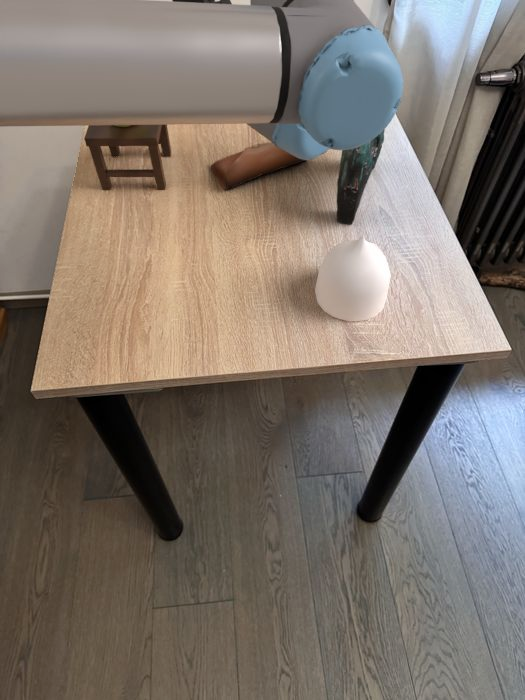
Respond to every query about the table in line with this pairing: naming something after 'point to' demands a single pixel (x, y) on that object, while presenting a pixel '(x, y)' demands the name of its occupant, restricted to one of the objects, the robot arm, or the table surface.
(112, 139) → the plant stand
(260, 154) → the sunglasses case
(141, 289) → the table surface
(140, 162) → the table surface
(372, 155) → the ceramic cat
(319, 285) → the teardrop
